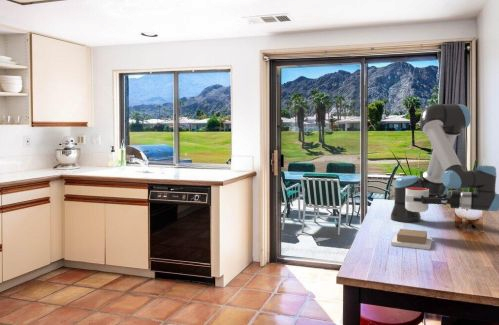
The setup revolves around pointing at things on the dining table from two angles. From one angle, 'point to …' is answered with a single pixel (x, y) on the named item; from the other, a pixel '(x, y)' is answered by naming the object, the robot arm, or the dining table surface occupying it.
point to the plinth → (413, 245)
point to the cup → (415, 205)
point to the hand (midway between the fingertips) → (407, 196)
